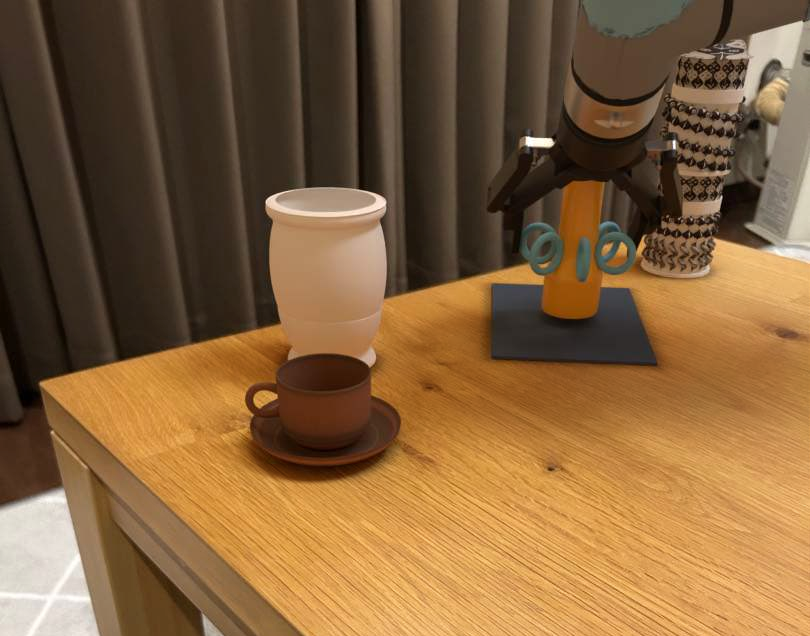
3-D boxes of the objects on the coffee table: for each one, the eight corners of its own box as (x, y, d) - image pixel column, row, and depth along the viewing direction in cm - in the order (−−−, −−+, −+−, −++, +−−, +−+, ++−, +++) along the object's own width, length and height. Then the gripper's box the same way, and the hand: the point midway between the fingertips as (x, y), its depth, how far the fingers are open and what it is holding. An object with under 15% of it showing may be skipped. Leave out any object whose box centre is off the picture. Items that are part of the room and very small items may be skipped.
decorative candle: (635, 254, 113) (670, 34, 99) (708, 258, 112) (754, 36, 98) (638, 276, 106) (677, 41, 91) (717, 281, 105) (768, 44, 90)
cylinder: (558, 337, 86) (576, 177, 77) (494, 306, 93) (504, 157, 85) (646, 314, 91) (672, 163, 83) (579, 287, 99) (596, 145, 90)
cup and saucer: (274, 492, 64) (267, 417, 60) (237, 423, 73) (229, 354, 69) (423, 463, 67) (425, 390, 64) (370, 400, 77) (369, 334, 73)
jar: (404, 352, 86) (406, 193, 77) (356, 392, 78) (352, 220, 69) (311, 334, 89) (302, 180, 81) (256, 371, 81) (240, 205, 73)
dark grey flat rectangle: (657, 365, 83) (657, 362, 83) (491, 358, 85) (491, 355, 84) (628, 290, 102) (629, 288, 101) (492, 285, 103) (492, 282, 102)
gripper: (459, 140, 70) (458, 272, 91) (760, 148, 68) (687, 280, 90) (465, 58, 71) (462, 207, 92) (760, 64, 69) (687, 214, 91)
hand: (572, 243), depth 91 cm, fingers closed on cylinder, 11 cm apart
